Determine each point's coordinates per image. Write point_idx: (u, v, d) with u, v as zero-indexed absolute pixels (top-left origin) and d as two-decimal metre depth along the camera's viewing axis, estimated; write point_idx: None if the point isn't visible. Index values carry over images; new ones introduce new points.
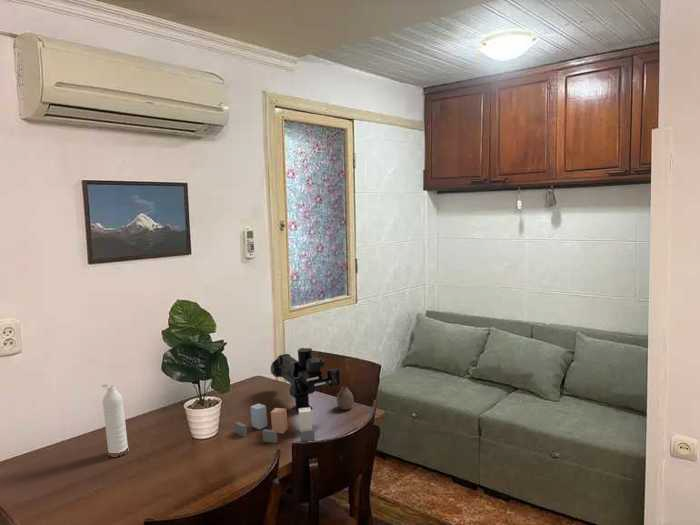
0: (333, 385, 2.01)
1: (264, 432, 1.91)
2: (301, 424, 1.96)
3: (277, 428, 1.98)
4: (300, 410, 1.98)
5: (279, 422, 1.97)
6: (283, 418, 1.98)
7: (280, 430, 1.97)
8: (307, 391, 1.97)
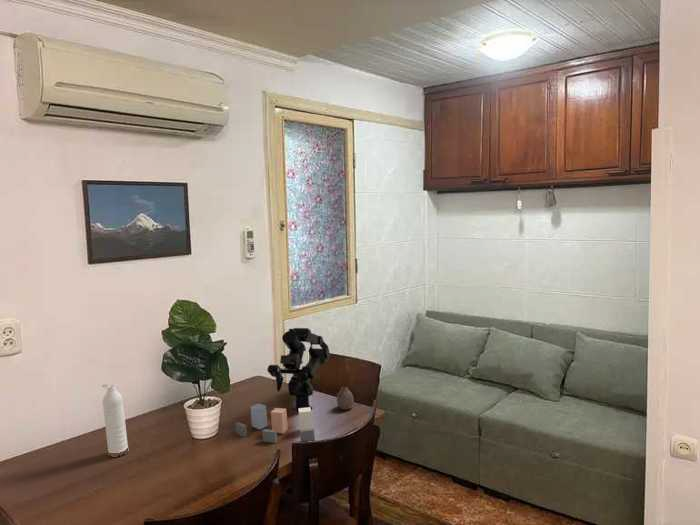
0: None
1: (264, 432, 1.91)
2: (301, 424, 1.96)
3: (277, 428, 1.98)
4: (300, 410, 1.98)
5: (279, 422, 1.97)
6: (283, 418, 1.98)
7: (280, 430, 1.97)
8: None
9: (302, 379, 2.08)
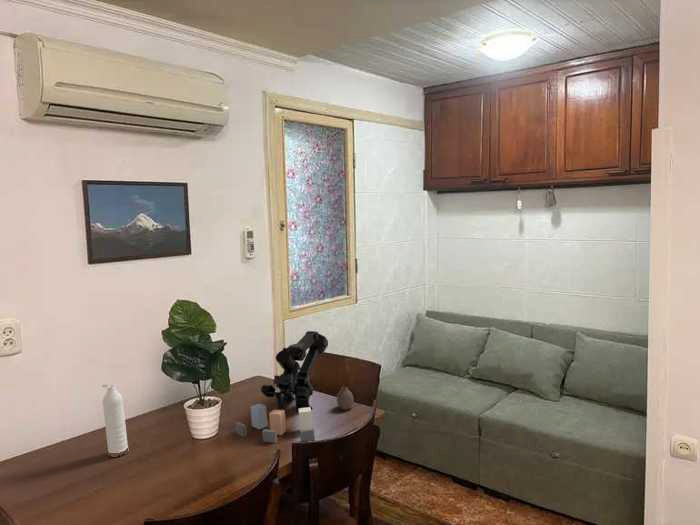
0: None
1: (264, 432, 1.91)
2: (301, 424, 1.96)
3: None
4: (300, 410, 1.98)
5: (277, 423, 1.96)
6: (281, 420, 1.96)
7: (279, 432, 1.96)
8: None
9: (288, 399, 2.04)
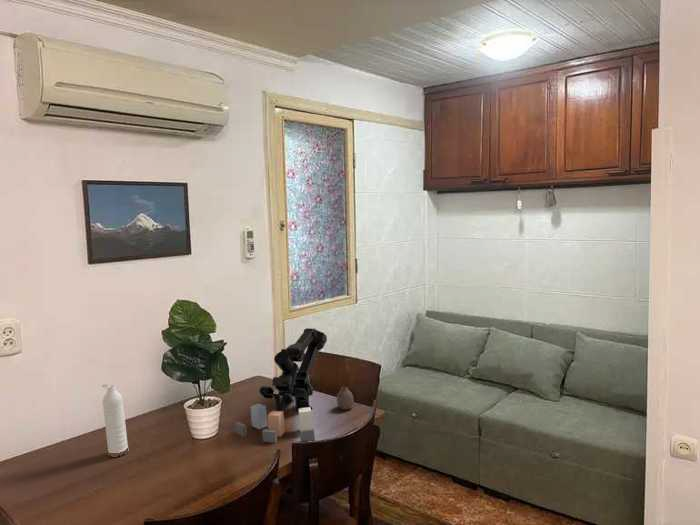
0: None
1: (264, 432, 1.91)
2: (301, 424, 1.96)
3: None
4: (300, 410, 1.98)
5: (276, 425, 1.95)
6: (280, 421, 1.95)
7: (277, 434, 1.95)
8: None
9: (287, 401, 2.02)
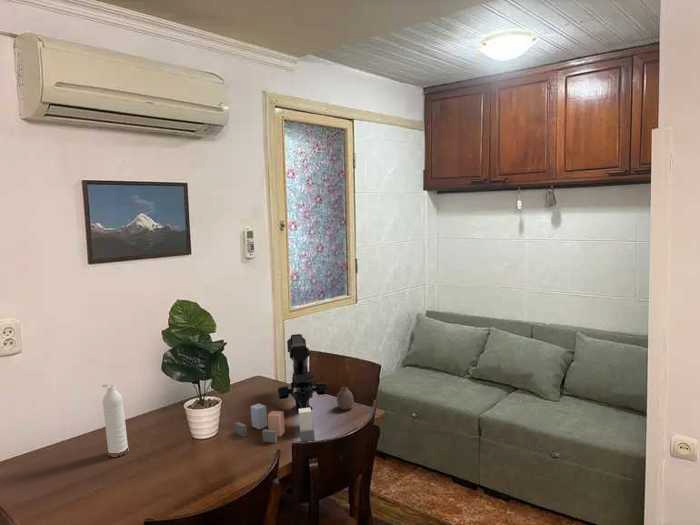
0: None
1: (264, 432, 1.91)
2: (301, 424, 1.96)
3: None
4: (300, 410, 1.97)
5: (276, 425, 1.95)
6: (280, 421, 1.95)
7: (277, 434, 1.95)
8: (299, 404, 2.03)
9: (307, 397, 2.05)
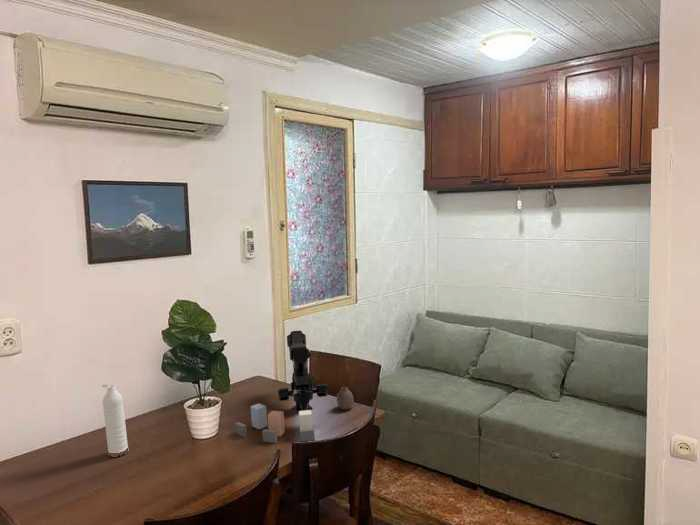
0: None
1: (264, 432, 1.91)
2: (301, 427, 1.94)
3: None
4: (300, 413, 1.95)
5: (276, 425, 1.95)
6: (280, 421, 1.95)
7: (277, 434, 1.95)
8: (300, 405, 2.02)
9: None
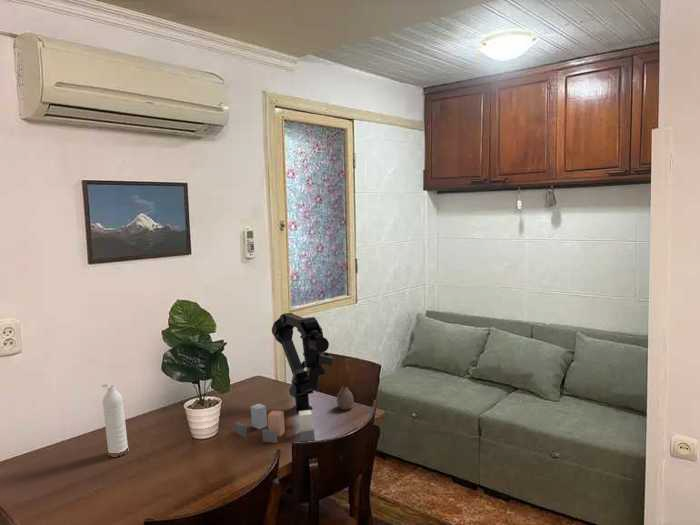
0: None
1: (264, 432, 1.91)
2: (301, 427, 1.94)
3: None
4: (300, 413, 1.95)
5: (276, 425, 1.95)
6: (280, 421, 1.95)
7: (277, 434, 1.95)
8: (311, 381, 2.07)
9: None
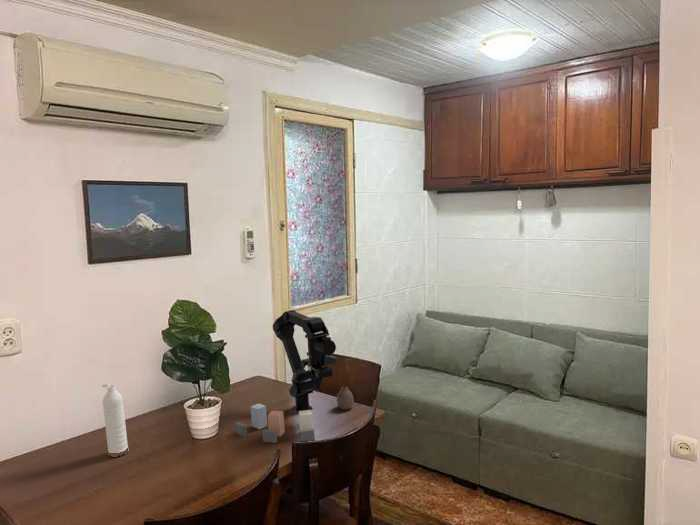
0: None
1: (264, 432, 1.91)
2: (301, 427, 1.94)
3: None
4: (300, 413, 1.95)
5: (276, 425, 1.95)
6: (280, 421, 1.95)
7: (277, 434, 1.95)
8: (315, 381, 2.06)
9: None
